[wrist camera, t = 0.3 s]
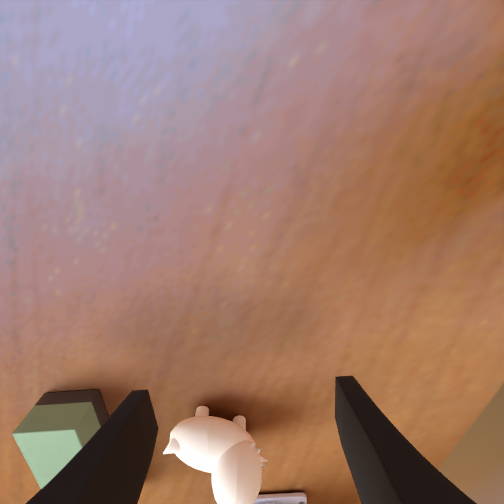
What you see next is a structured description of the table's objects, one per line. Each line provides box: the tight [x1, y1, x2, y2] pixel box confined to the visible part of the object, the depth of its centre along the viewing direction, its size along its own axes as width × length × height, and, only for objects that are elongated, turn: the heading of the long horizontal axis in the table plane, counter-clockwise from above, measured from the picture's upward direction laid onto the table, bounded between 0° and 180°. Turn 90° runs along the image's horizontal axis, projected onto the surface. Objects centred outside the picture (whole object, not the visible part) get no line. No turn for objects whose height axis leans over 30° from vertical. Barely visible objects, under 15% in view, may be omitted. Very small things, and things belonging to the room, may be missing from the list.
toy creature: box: [163, 406, 268, 504], centre depth 23 cm, size 5×8×6 cm, turn 70°
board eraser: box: [13, 389, 109, 489], centre depth 25 cm, size 12×4×4 cm, turn 5°
